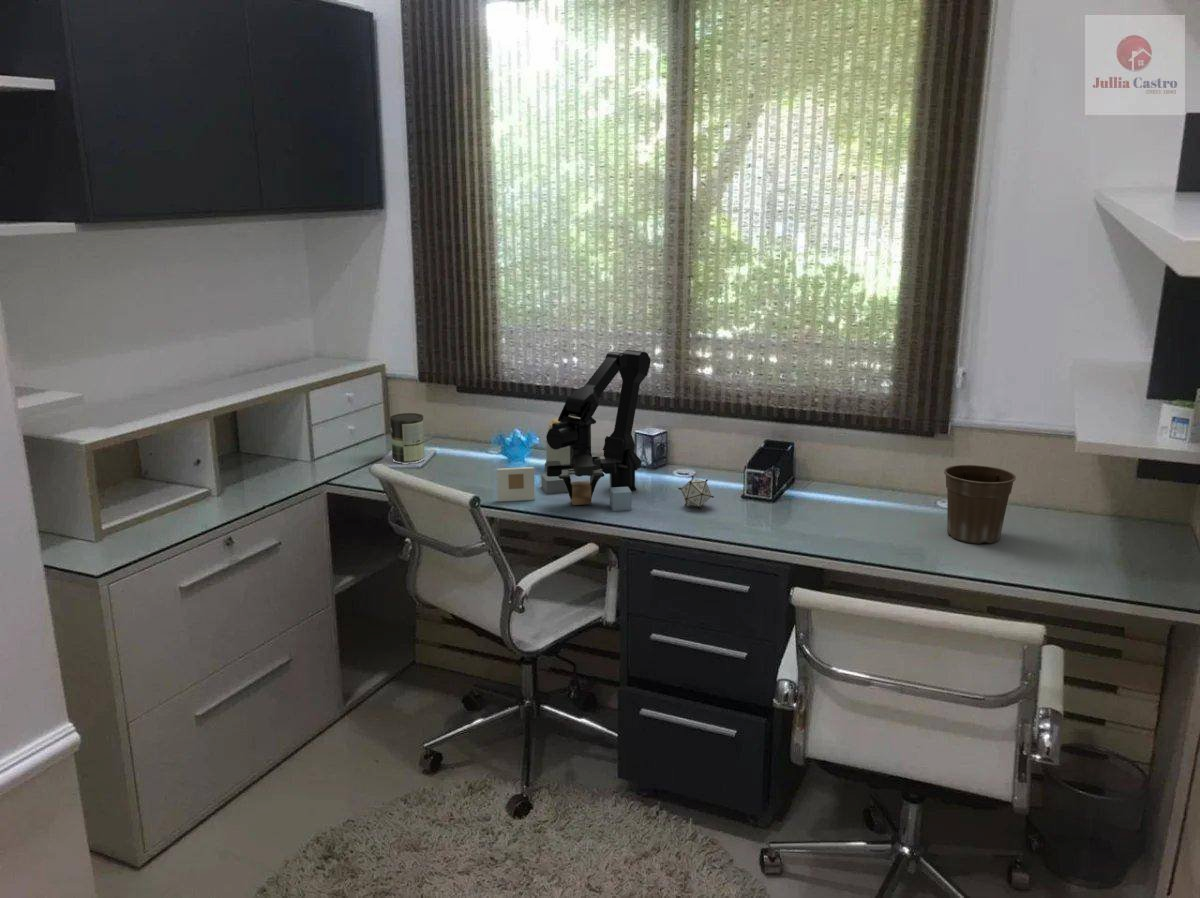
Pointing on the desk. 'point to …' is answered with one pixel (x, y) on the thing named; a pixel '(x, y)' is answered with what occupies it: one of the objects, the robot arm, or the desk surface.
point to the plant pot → (977, 502)
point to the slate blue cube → (620, 498)
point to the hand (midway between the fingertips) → (580, 497)
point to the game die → (696, 492)
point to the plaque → (515, 484)
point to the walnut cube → (581, 492)
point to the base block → (553, 484)
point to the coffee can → (407, 437)
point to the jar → (558, 454)
